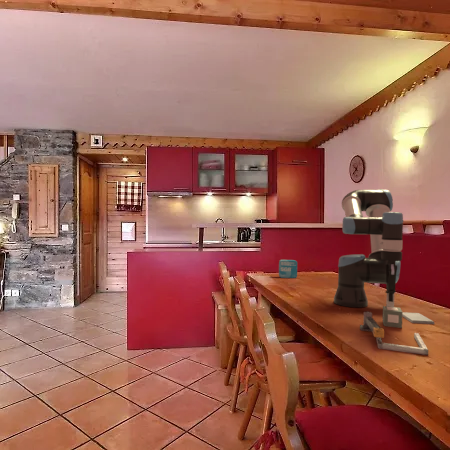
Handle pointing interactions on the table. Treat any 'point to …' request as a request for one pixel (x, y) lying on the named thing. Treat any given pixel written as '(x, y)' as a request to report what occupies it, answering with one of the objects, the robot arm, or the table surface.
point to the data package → (288, 268)
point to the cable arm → (375, 327)
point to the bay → (403, 348)
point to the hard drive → (417, 318)
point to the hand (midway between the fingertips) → (390, 309)
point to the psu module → (392, 316)
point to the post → (365, 326)
